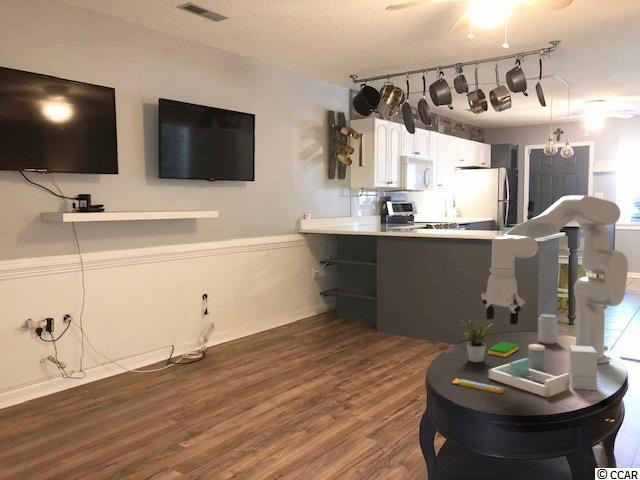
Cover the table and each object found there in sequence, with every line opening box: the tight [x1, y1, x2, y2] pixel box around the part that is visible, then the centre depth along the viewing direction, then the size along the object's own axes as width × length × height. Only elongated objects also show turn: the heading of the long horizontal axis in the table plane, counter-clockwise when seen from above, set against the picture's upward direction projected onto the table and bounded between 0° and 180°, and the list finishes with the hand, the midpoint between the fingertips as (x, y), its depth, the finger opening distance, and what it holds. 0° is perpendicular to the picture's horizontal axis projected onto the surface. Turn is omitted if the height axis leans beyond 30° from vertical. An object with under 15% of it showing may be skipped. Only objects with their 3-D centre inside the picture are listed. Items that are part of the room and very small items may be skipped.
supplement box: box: [568, 344, 598, 391], centre depth 169 cm, size 7×7×13 cm
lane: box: [488, 362, 570, 398], centre depth 172 cm, size 12×22×5 cm, turn 34°
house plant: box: [458, 318, 494, 363], centre depth 198 cm, size 14×14×16 cm
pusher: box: [509, 357, 534, 382], centre depth 173 cm, size 8×5×7 cm, turn 124°
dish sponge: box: [488, 341, 519, 358], centre depth 209 cm, size 7×14×2 cm, turn 139°
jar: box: [528, 343, 546, 373], centre depth 185 cm, size 5×5×9 cm
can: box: [537, 313, 559, 345], centre depth 221 cm, size 8×8×12 cm
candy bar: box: [451, 378, 506, 394], centre depth 170 cm, size 17×4×2 cm, turn 53°
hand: (501, 321), depth 180 cm, fingers open, 9 cm apart
